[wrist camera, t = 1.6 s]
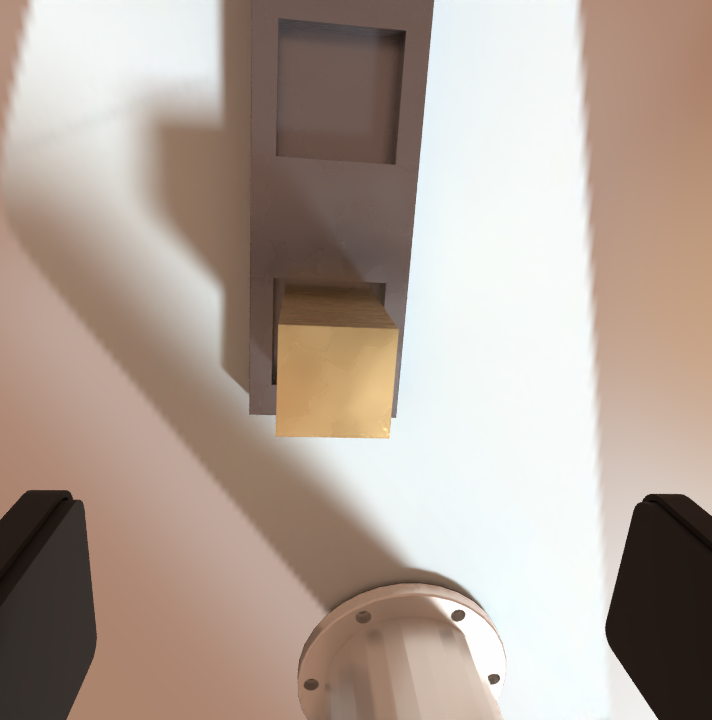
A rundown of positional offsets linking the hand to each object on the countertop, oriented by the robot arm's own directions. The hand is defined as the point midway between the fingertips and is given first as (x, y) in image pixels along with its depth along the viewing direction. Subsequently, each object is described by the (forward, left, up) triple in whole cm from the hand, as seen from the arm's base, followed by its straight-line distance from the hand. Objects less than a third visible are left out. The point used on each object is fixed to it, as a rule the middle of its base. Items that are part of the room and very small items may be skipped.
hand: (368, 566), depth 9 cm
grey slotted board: (+4, +2, -18) cm, 19 cm away
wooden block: (0, 0, -18) cm, 18 cm away
